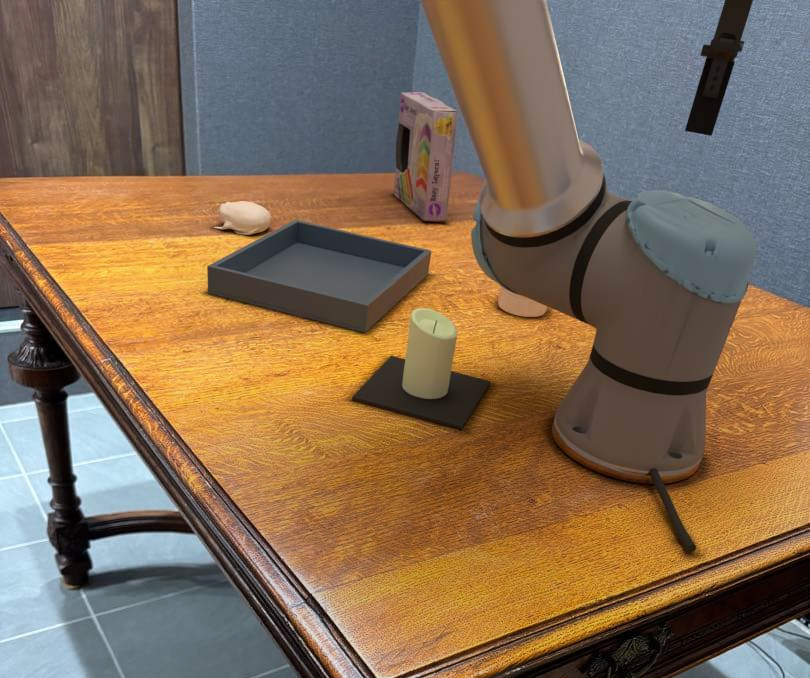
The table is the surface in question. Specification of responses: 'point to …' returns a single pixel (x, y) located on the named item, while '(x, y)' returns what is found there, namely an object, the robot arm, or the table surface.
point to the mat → (445, 410)
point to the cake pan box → (425, 155)
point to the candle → (429, 354)
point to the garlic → (244, 217)
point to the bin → (321, 274)
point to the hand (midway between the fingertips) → (700, 124)
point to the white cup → (519, 304)
